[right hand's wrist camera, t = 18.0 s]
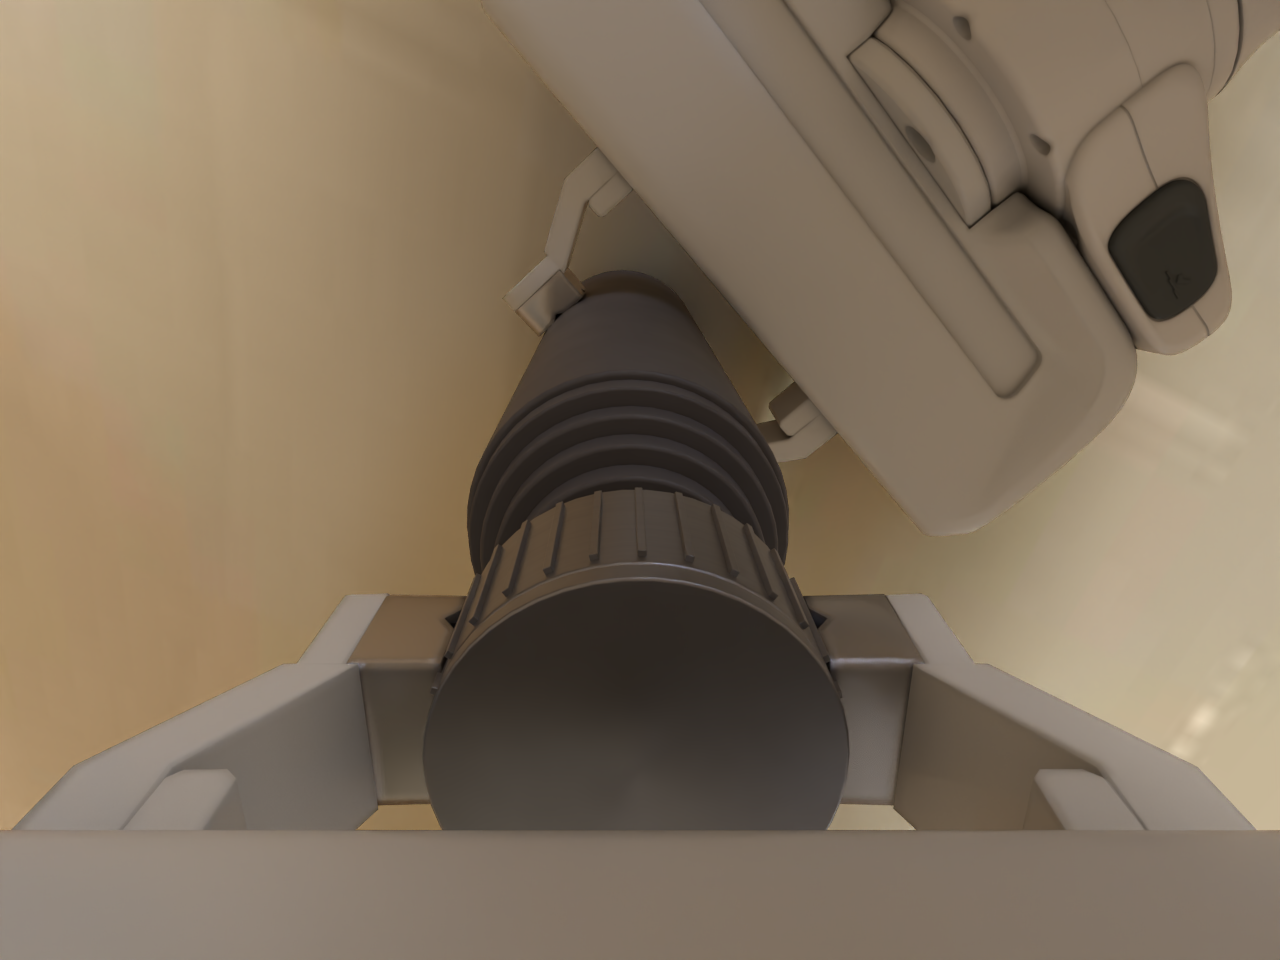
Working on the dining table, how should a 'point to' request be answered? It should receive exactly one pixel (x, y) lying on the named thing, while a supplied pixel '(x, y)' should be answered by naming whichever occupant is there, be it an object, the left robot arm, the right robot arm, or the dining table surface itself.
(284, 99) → the dining table surface
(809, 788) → the cap
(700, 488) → the bottle
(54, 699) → the dining table surface
